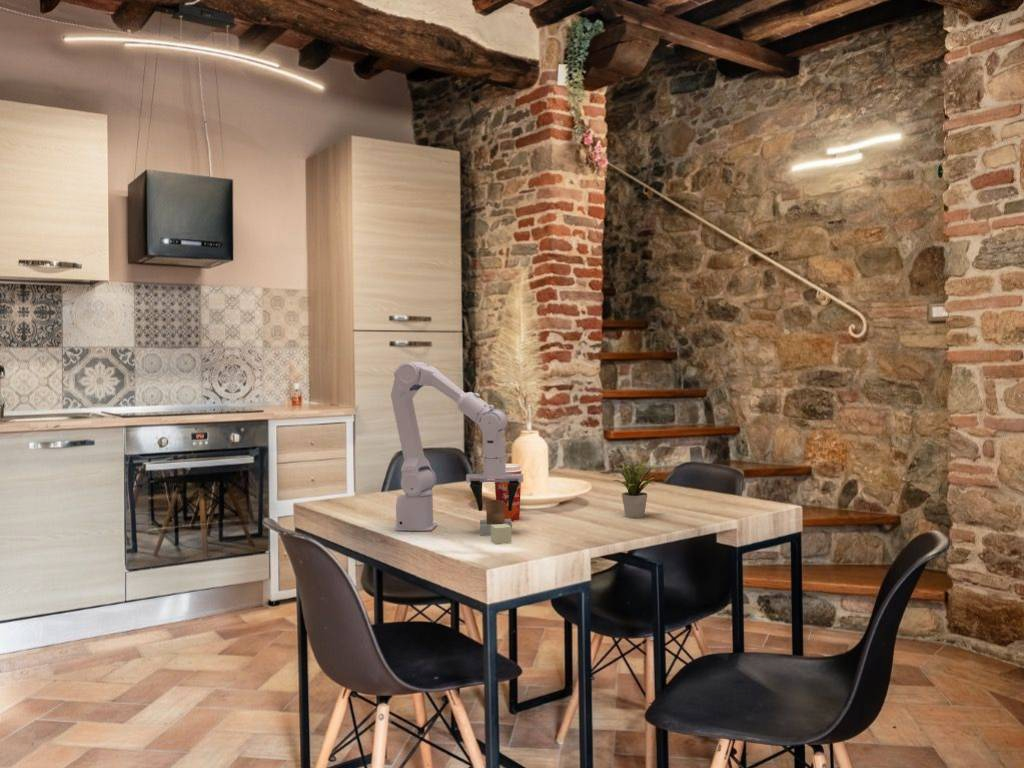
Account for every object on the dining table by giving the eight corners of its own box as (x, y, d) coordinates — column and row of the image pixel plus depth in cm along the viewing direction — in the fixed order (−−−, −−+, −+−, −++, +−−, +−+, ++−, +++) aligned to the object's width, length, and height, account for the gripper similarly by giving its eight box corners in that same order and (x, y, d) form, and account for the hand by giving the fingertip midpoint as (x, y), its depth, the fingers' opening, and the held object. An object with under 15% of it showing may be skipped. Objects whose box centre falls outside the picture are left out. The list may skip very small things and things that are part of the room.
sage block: (495, 544, 197) (495, 528, 197) (490, 541, 201) (490, 525, 201) (511, 543, 198) (511, 526, 198) (506, 539, 202) (506, 523, 202)
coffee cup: (498, 523, 223) (497, 467, 222) (490, 517, 230) (489, 464, 230) (527, 520, 225) (526, 466, 224) (519, 515, 233) (517, 462, 232)
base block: (480, 537, 207) (479, 525, 207) (480, 531, 215) (480, 519, 215) (511, 536, 207) (511, 525, 207) (511, 530, 215) (510, 518, 215)
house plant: (660, 522, 218) (659, 461, 218) (608, 521, 222) (607, 461, 221) (663, 512, 232) (662, 455, 232) (614, 511, 235) (613, 454, 235)
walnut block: (486, 524, 209) (486, 504, 209) (489, 520, 213) (488, 501, 213) (502, 524, 208) (501, 504, 208) (504, 520, 212) (504, 501, 212)
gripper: (463, 459, 207) (464, 513, 208) (520, 459, 205) (521, 513, 206) (468, 456, 214) (469, 508, 215) (523, 455, 212) (524, 508, 213)
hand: (495, 510), depth 211 cm, fingers open, 7 cm apart
